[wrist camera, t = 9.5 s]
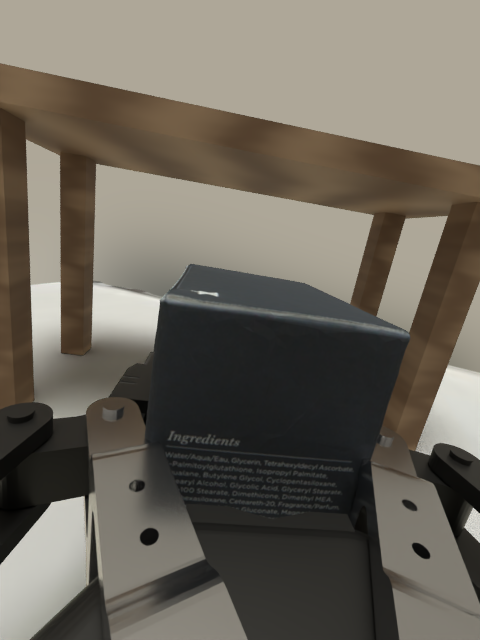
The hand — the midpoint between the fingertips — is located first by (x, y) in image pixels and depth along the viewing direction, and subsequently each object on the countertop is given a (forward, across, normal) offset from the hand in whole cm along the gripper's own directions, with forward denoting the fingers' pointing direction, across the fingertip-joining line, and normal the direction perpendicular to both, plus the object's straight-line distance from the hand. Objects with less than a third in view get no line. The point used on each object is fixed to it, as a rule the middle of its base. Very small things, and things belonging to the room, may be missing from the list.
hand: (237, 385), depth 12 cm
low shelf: (+13, 0, +7) cm, 15 cm away
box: (-1, 0, +6) cm, 6 cm away
